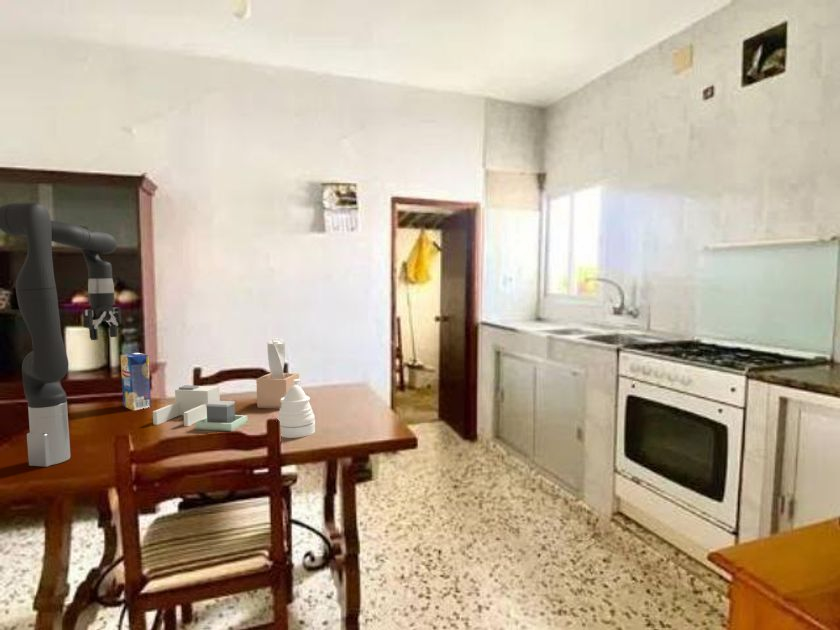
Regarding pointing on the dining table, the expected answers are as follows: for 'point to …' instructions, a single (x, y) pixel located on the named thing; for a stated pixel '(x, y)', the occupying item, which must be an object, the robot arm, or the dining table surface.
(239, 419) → the tray
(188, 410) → the white dispenser chute
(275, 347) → the skyscraper
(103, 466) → the dining table surface
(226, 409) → the grey gripped cube
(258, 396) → the open tan box
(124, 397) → the beverage box
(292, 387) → the honey pot
